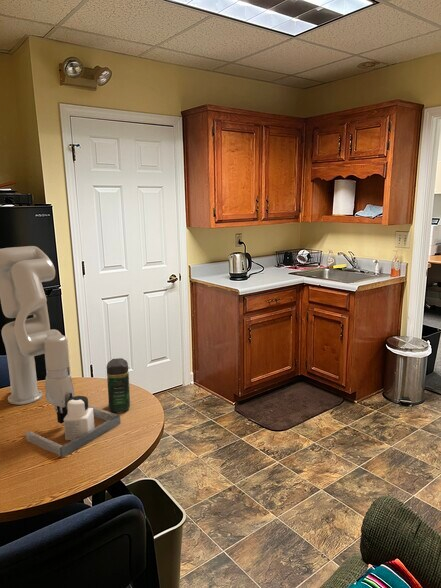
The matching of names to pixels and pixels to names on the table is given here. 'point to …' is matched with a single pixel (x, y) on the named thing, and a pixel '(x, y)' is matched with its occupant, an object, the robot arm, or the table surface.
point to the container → (78, 418)
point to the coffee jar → (118, 385)
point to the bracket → (73, 445)
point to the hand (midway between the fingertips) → (63, 421)
